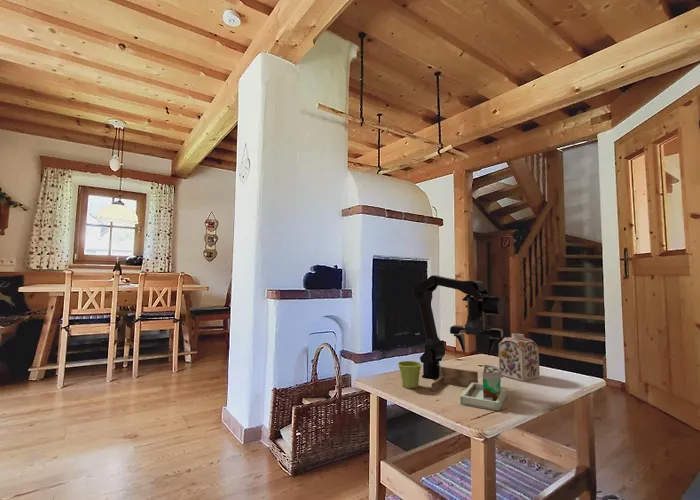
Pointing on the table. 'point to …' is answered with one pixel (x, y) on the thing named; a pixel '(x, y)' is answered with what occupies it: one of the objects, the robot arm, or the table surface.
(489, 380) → the food container
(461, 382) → the wooden pieces
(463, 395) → the tray
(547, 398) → the table surface
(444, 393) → the table surface
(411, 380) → the plant pot
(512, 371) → the decorative jar
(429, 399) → the table surface
